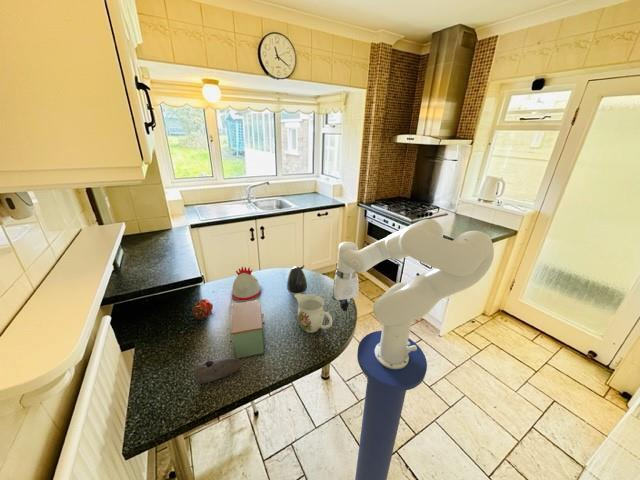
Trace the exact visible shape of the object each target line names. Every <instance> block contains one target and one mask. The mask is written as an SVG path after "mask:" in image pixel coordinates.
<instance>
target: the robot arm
mask: <svg viewBox="0 0 640 480" xmlns="http://www.w3.org/2000/svg"><path fill="white" fill-rule="evenodd" d="M494 248H495V247H494V244H493V241H492V238H491V237H490V236H489V235H488V234H487V233H485V232H483V231H480V230H469V231H465V232H462V233H461V234H459V235H458V236H456V237H455V238H454V239H453V240H451V239H448V238H446V237H444V229H443V226H442V225H441V224H440V223H439V222H438V221H437V220H435V219H433V218H426V219H420V220H418V221H416V222H414V223H412V224H410V225H407V226H406V227H404V228H401V229H399V230H397V231H395V232H393V233H391V234H388V235H387V236H386V237H384V238H382V239H379V240H377V241H375V242H372V243H370V244H369V245H367V246H365V247H363V248H361V249H359V246H358V245H357V243H355V242H353V241H343V242H341V243H340V244H339V245H338V247H337V265H336V266H337V267H336V270H333V275H334V279H333V282H332V301H338V302H339V303H340V304H339V305H340V309H341V310H342V312H347V311H348V308H349V303H350V302H351V300H352V299H355V298H357V297H358V296H359V293H360V283H359V275H358V274H357V273H360V274H362V273H366V272H367V271H368V270H370V269H372V268H373V267H374V266H377V265H378V264H379V263H381V262H383V261H385V260H388V259H392V258H393V259H394V260H403V259H404V258H408V257H410V258H411V259H413V260H415V261H418V262H420V263H423V264H425V265H427V266H430V267H432V268H433V269H430V270H428V271H427V272H426V271H425V272H424V273H421V274H418V275H417V276H414V277H413V278H412V279H410V281H408V282H405V281H404V282H403V281H401V282H398V283H395V284H393V285H392V286H391V287H389V288H388V289H387V290H386V291H385V292H384V293H383V294H381V295H380V296H379V297H377V299H376V300H375V301H374V303H373V306H372V313H373V315H374V317H375V319H376V320H377V321H378V322H380V323H381V324H382V327H381V331H382V333H381V340H380V343H379V344H377V346H376V348H375V357H376V359H377V360H378V361H379V362H380V363H381V364H382V365H383V366H385V367H387V368H390V369H401V368H404V367H405V366H406V365H407V364H408V361H409V355H408V353H410V351H416V350H417V347H416V345H413V346H409V347H408V345H410V342H408V338H409V339H410V333H411V328H412V323H413V321H415V320H419V319H421V318H423V317H425V316H426V315H428V314H429V313H430V312H431V311H432V310H433V308H435V306H436V305H437V304H438V303H439V302H440V301H442V300H443V299H445V298H448V297H450V296H453V295H456V294H457V293H460V292H462V291H466V290H467V289H469V288H471V287H473V286H474V285H475V284H477V283H478V282H480V281H481V280H482V278H484V276H485V275H486V274H487V272H488V271H489V270H490V268H491V266H492V264H493V260H494V256H495V255H494V254H495V249H494Z"/></svg>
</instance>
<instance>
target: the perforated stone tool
mask: <svg viewBox="0 0 640 480" xmlns="http://www.w3.org/2000/svg"><path fill="white" fill-rule="evenodd" d="M242 366H243V362H242V360H240V358H236V357H223V358H216V359H209V360H206V361H203V362H200V363H197V365H196V368H195V370H194V372H193V374H192V375H193V378H194V379H193V380H194V381H195V383H196V384H197V385H202V384H208V383H213V382H215V381H218V380H220V379H223V378H225V377H228V376H230V375H232V374H234V373H236V372H237V371H238V370H240V369H241V368H242Z"/></svg>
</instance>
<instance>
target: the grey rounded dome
mask: <svg viewBox="0 0 640 480" xmlns="http://www.w3.org/2000/svg"><path fill="white" fill-rule="evenodd" d="M252 272H253V268H252V269H251V268H250V267H248V268H247V267H246V266H244V267H243V266H241V268H238V270H235V273H236V275H237V276H236V277H235V279H234V280H233V284H232V290H231V293H232V297H233V298H234V299H235V300H236V301H241V302H248V301H252V300H253V299H255V298H257V297H258V296H259V295H260V294H261V291H262V290H261V284H260V281H259V280H258V278H257V277H256V276H255V274H253V273H252Z"/></svg>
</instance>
